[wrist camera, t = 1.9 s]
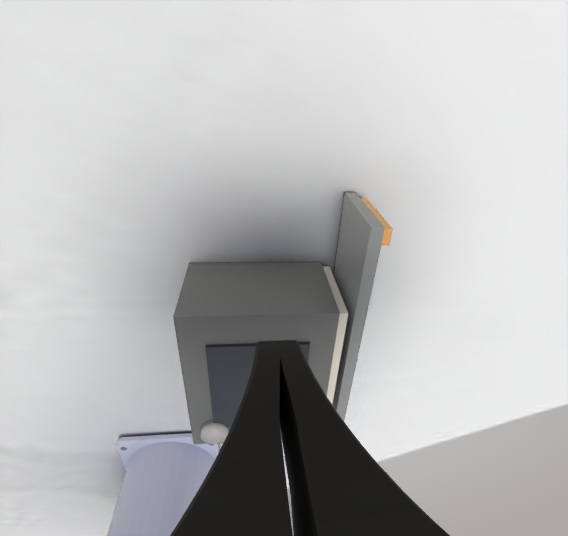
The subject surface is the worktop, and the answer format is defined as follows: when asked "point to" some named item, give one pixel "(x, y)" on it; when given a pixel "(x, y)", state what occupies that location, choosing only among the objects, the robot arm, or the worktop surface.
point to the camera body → (251, 331)
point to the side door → (356, 281)
